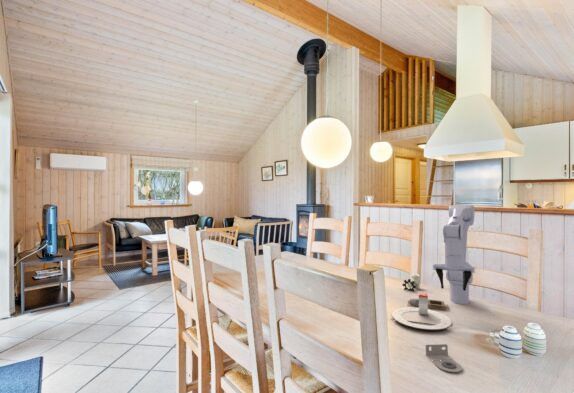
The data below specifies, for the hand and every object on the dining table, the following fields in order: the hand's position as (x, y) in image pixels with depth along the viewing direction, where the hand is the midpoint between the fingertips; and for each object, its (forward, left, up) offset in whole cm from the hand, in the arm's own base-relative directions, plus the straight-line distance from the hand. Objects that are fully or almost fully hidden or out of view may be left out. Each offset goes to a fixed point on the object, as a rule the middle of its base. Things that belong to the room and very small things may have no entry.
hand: (453, 288), depth 123 cm
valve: (-30, -15, -11) cm, 35 cm away
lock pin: (+6, -11, -9) cm, 15 cm away
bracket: (+40, -6, -11) cm, 42 cm away
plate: (+11, -12, -11) cm, 20 cm away
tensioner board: (-5, -9, -10) cm, 15 cm away
